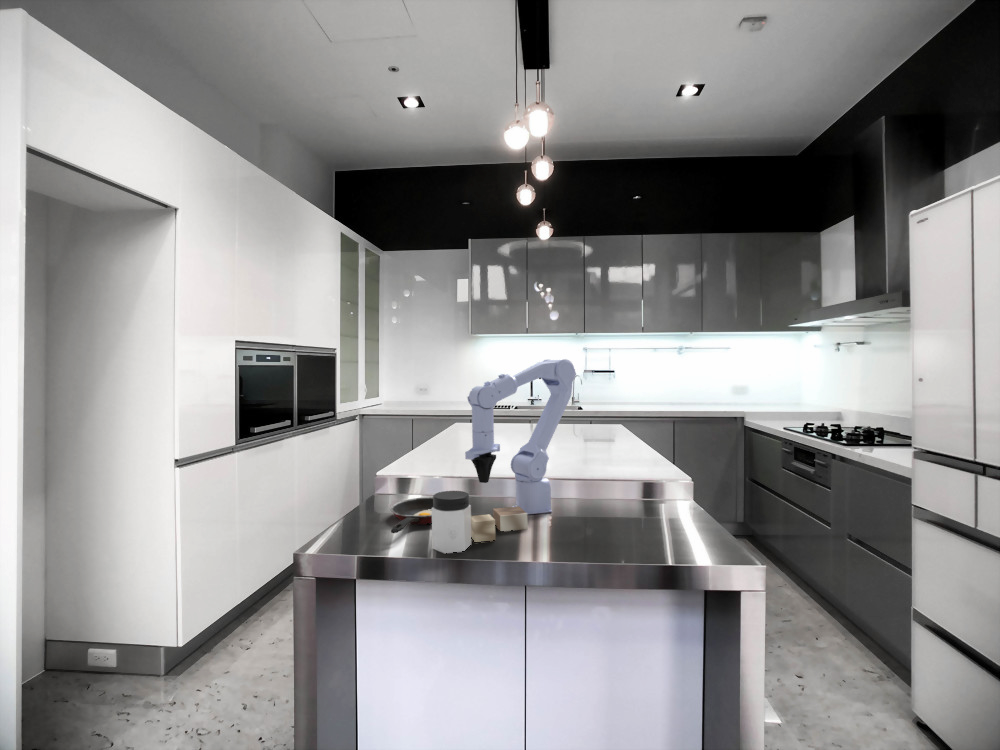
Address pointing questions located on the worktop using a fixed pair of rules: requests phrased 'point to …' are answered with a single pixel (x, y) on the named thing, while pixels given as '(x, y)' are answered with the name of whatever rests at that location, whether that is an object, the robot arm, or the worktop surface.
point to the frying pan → (412, 512)
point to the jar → (451, 521)
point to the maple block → (482, 528)
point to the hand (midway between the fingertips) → (483, 482)
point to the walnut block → (510, 518)
